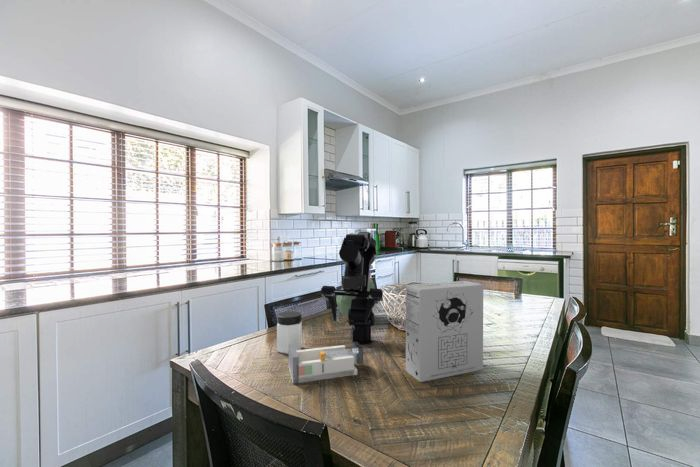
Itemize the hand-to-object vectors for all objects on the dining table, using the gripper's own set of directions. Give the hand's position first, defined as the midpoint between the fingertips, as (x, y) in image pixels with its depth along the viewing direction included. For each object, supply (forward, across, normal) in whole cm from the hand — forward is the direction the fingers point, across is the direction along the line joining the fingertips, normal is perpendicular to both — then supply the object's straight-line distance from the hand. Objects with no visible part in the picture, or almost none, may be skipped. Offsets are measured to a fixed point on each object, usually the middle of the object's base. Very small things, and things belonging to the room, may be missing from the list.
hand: (350, 322), depth 96 cm
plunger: (+12, -1, +2) cm, 12 cm away
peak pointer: (+11, -6, -4) cm, 13 cm away
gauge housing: (+14, -6, +2) cm, 15 cm away
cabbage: (-7, -2, +51) cm, 51 cm away
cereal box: (+11, +28, +5) cm, 31 cm away
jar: (+9, -21, +16) cm, 28 cm away
